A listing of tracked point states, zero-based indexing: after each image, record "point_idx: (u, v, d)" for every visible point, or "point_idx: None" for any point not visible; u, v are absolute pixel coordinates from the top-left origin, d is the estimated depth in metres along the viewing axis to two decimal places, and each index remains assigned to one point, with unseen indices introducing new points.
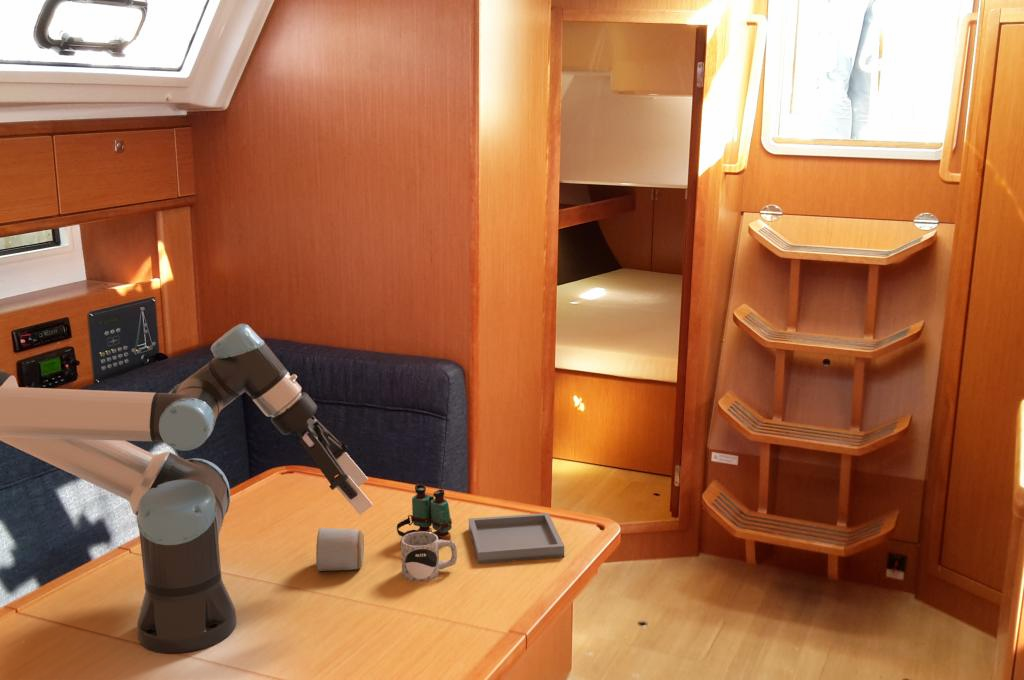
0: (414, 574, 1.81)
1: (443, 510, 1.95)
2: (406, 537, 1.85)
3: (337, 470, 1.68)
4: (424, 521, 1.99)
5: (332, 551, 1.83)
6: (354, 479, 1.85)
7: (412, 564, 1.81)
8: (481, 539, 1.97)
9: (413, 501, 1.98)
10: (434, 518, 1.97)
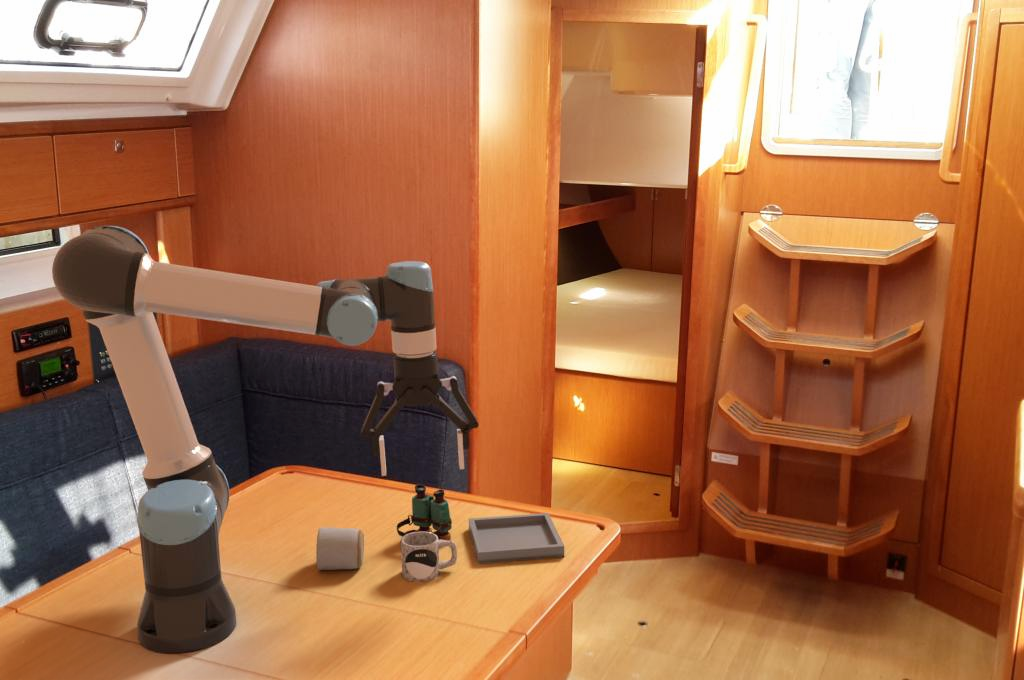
0: (414, 574, 1.81)
1: (443, 510, 1.95)
2: (406, 537, 1.85)
3: (473, 413, 1.81)
4: (424, 521, 1.99)
5: (332, 550, 1.83)
6: (385, 465, 1.79)
7: (412, 564, 1.81)
8: (481, 539, 1.97)
9: (413, 501, 1.98)
10: (434, 518, 1.97)
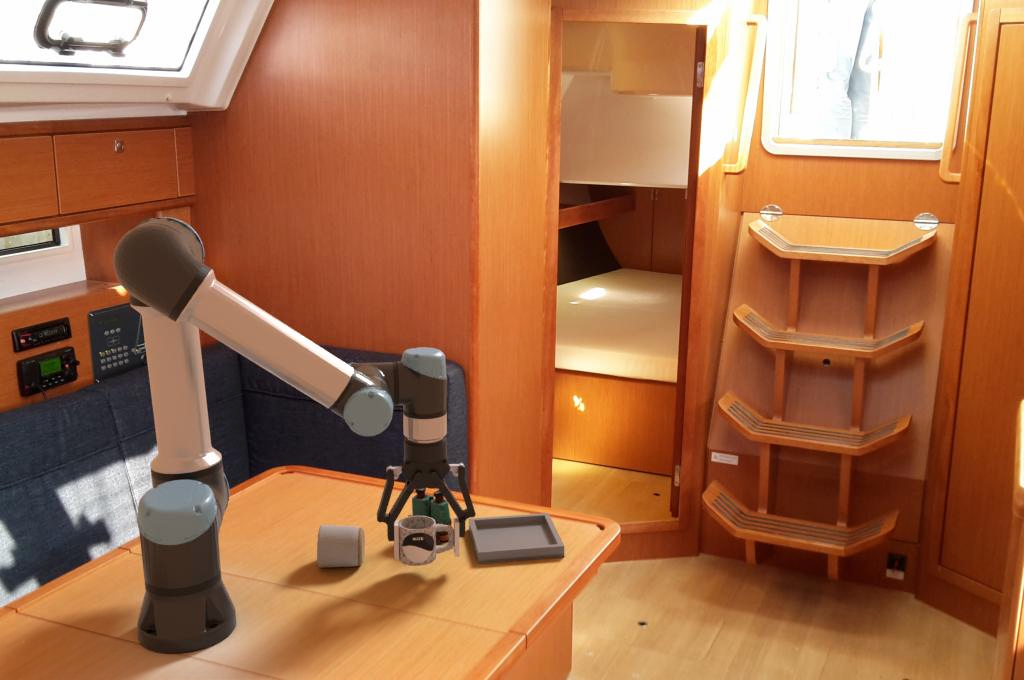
0: (411, 558, 1.81)
1: (443, 510, 1.95)
2: (403, 521, 1.84)
3: None
4: None
5: (333, 548, 1.84)
6: None
7: (409, 548, 1.80)
8: (481, 539, 1.97)
9: (413, 501, 1.98)
10: (434, 518, 1.97)
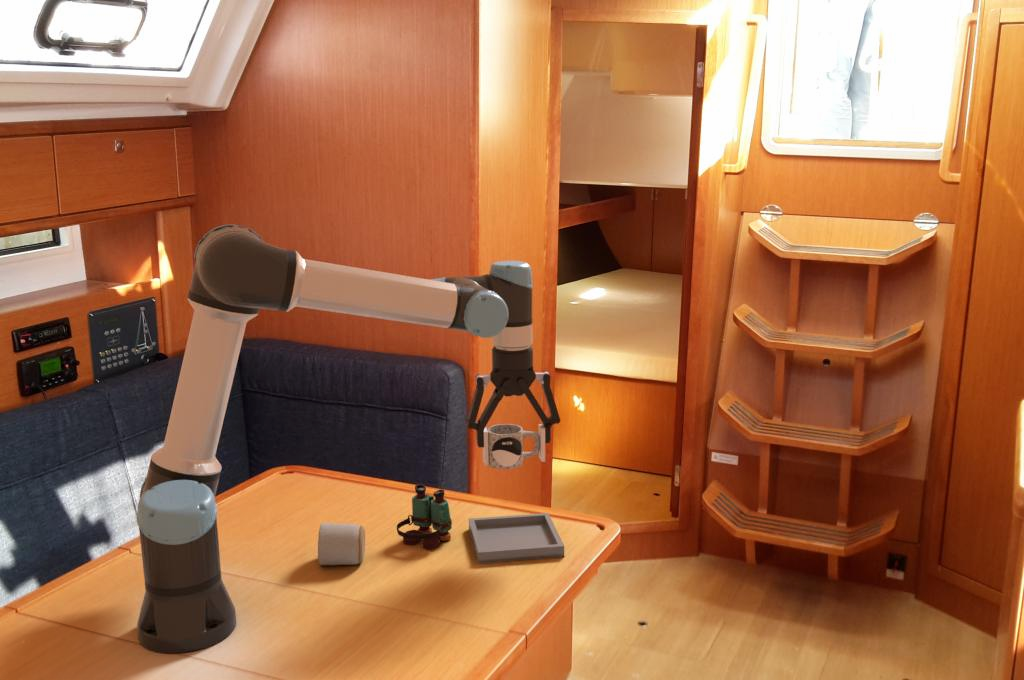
0: (500, 462, 1.90)
1: (443, 510, 1.95)
2: (491, 428, 1.93)
3: None
4: (424, 521, 1.99)
5: (333, 546, 1.85)
6: None
7: (499, 452, 1.90)
8: (481, 539, 1.97)
9: (413, 501, 1.98)
10: (434, 518, 1.97)
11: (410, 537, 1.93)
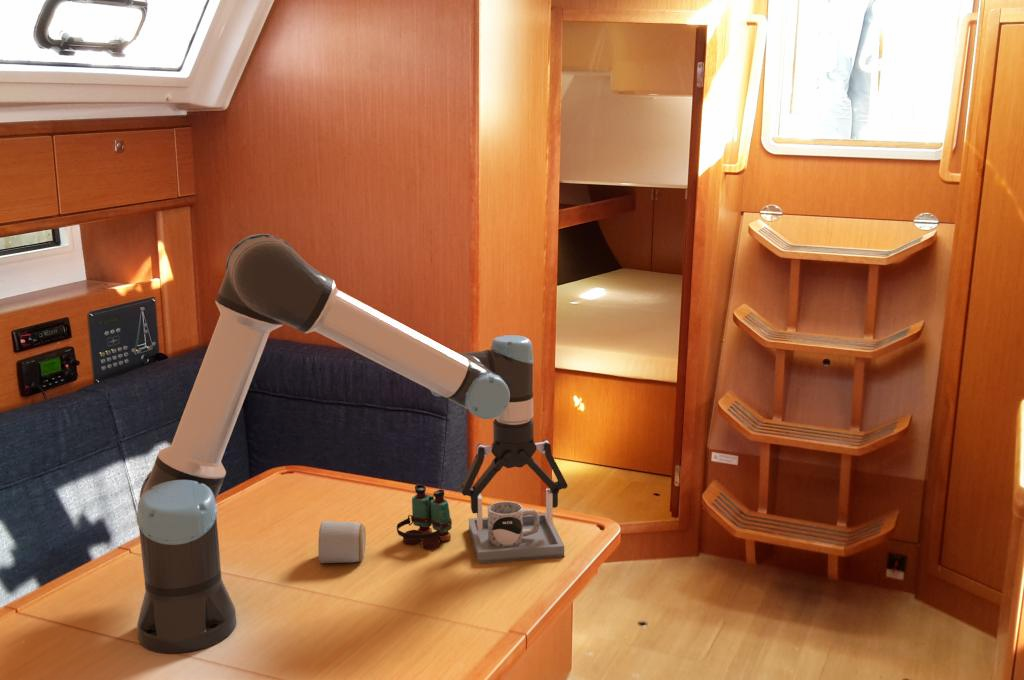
0: (501, 540, 1.93)
1: (443, 510, 1.95)
2: (492, 506, 1.97)
3: None
4: (424, 521, 1.99)
5: (334, 544, 1.86)
6: None
7: (499, 531, 1.93)
8: (481, 539, 1.97)
9: (413, 501, 1.98)
10: (434, 518, 1.97)
11: (410, 537, 1.93)
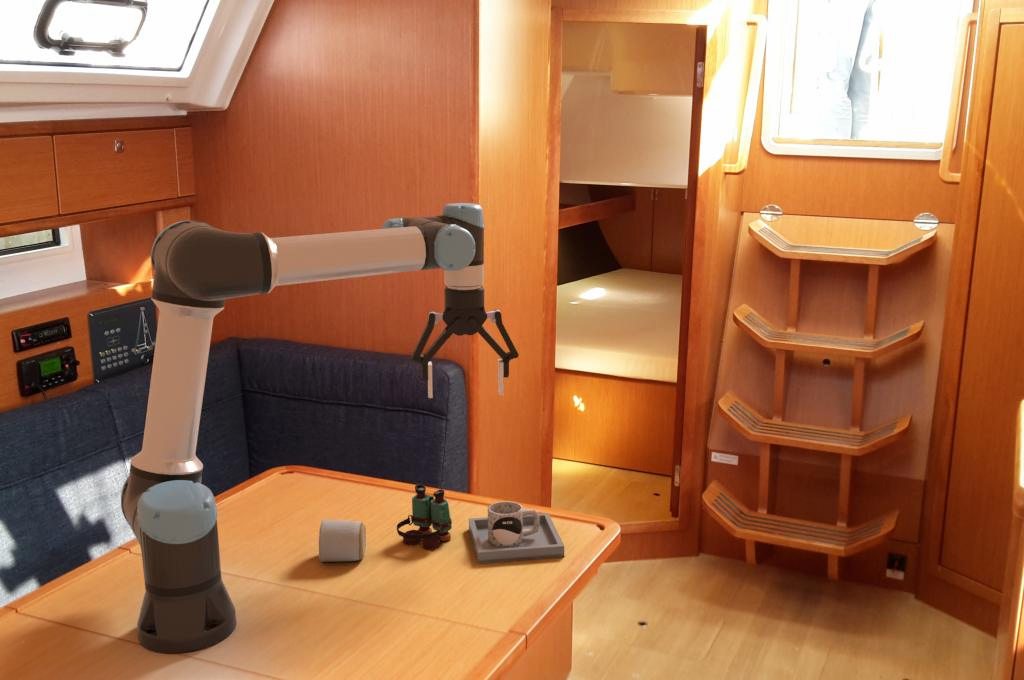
0: (501, 540, 1.93)
1: (443, 510, 1.95)
2: (492, 506, 1.97)
3: None
4: (424, 521, 1.99)
5: (334, 542, 1.87)
6: None
7: (499, 531, 1.93)
8: (481, 539, 1.97)
9: (413, 501, 1.98)
10: (434, 518, 1.97)
11: (410, 537, 1.93)
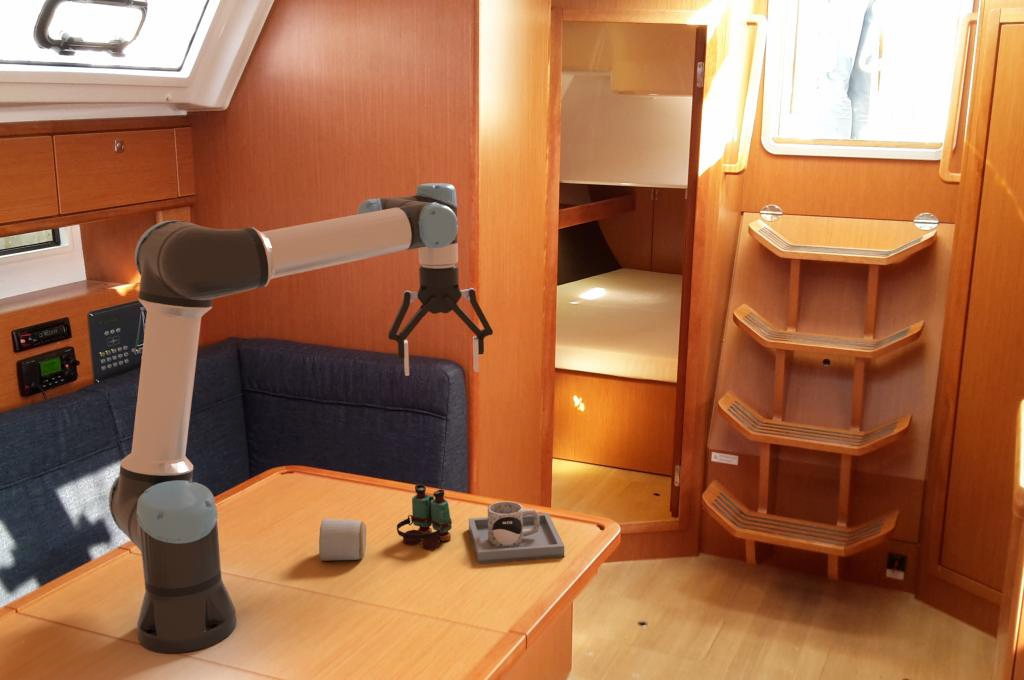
0: (501, 540, 1.93)
1: (443, 510, 1.95)
2: (492, 506, 1.97)
3: None
4: (424, 521, 1.99)
5: (334, 541, 1.87)
6: None
7: (499, 531, 1.93)
8: (481, 539, 1.97)
9: (413, 501, 1.98)
10: (434, 518, 1.97)
11: (410, 537, 1.93)
